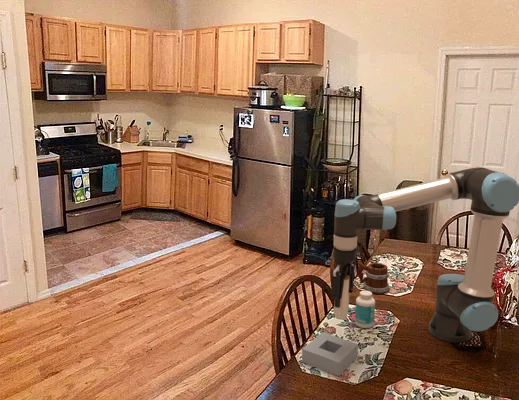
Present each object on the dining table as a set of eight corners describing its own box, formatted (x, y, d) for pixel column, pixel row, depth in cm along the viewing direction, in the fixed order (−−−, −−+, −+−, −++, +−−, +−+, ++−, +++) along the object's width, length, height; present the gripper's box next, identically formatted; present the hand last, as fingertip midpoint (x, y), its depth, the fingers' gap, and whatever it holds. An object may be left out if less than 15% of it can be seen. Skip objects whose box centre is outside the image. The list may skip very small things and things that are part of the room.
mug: (390, 296, 212) (386, 264, 209) (358, 297, 216) (354, 266, 214) (392, 286, 222) (388, 256, 220) (361, 287, 227) (357, 257, 225)
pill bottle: (374, 329, 183) (376, 297, 180) (354, 328, 185) (356, 296, 182) (373, 320, 190) (375, 289, 187) (354, 319, 192) (356, 288, 189)
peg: (349, 316, 161) (351, 275, 157) (343, 320, 158) (346, 278, 154) (338, 313, 163) (340, 272, 159) (332, 317, 160) (335, 275, 156)
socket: (357, 357, 165) (358, 344, 164) (338, 376, 154) (339, 362, 153) (322, 344, 173) (322, 332, 172) (302, 361, 162) (302, 348, 161)
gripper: (346, 238, 163) (342, 301, 169) (321, 251, 150) (318, 318, 155) (366, 242, 159) (362, 306, 164) (343, 256, 146) (339, 325, 151)
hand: (341, 312), depth 160 cm, fingers closed on peg, 4 cm apart
